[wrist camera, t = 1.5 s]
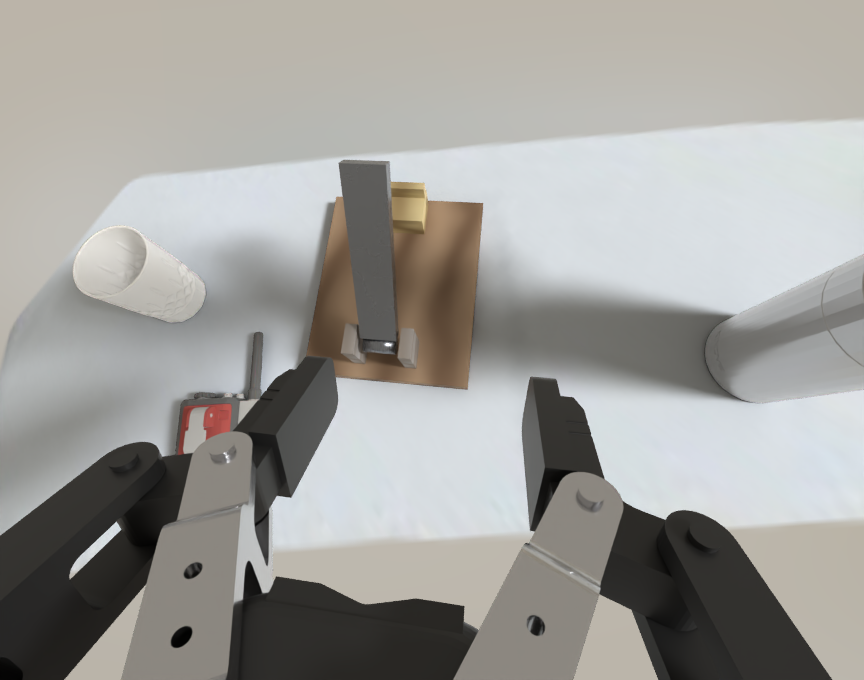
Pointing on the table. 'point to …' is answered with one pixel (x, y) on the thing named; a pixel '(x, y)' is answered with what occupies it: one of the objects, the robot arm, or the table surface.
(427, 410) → the table surface
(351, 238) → the strap
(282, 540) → the table surface
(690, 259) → the table surface
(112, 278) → the white cup
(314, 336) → the latch board
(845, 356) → the robot arm
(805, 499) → the table surface
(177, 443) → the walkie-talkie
